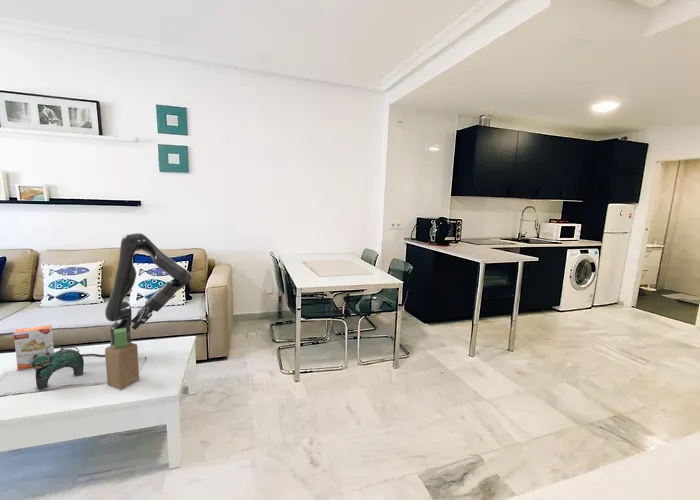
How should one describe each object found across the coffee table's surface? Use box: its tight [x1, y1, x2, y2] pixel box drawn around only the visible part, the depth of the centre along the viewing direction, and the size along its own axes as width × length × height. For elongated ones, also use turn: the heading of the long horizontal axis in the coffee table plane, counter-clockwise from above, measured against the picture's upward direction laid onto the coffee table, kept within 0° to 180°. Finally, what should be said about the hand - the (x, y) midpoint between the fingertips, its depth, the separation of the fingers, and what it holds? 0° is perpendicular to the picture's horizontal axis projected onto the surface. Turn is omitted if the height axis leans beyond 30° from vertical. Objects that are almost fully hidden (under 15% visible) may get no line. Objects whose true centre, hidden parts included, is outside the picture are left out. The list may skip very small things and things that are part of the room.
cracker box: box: [13, 324, 55, 371], centre depth 176 cm, size 14×6×21 cm, turn 123°
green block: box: [114, 328, 128, 349], centre depth 162 cm, size 5×5×8 cm
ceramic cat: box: [30, 344, 85, 391], centre depth 163 cm, size 20×6×20 cm, turn 149°
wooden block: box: [104, 342, 140, 390], centre depth 164 cm, size 10×10×20 cm
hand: (132, 325), depth 164 cm, fingers open, 8 cm apart
